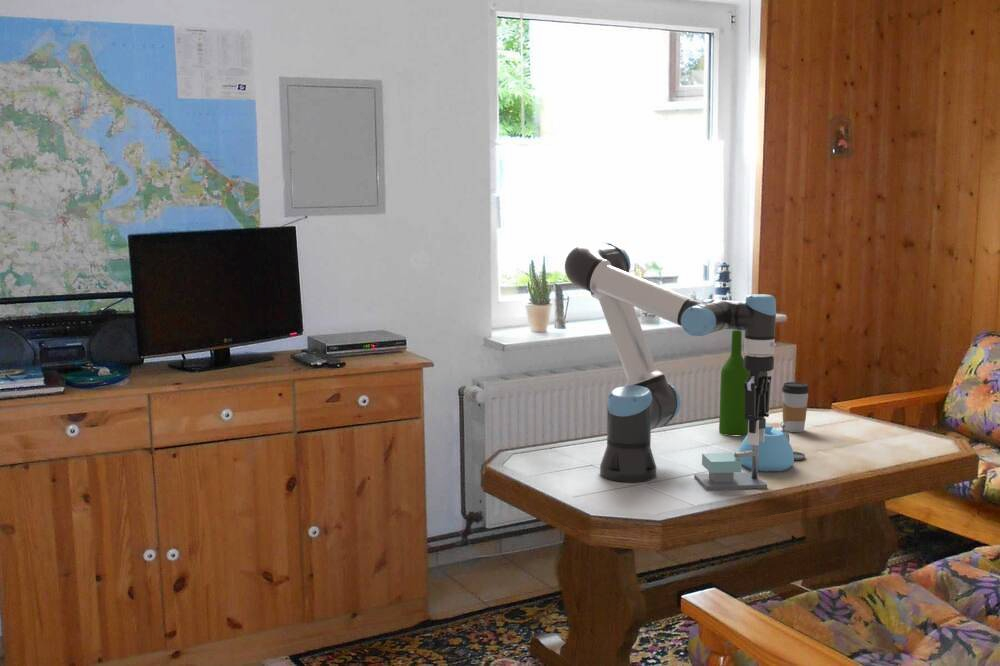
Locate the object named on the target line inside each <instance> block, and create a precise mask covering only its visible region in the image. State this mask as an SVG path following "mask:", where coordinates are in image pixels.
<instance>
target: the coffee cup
mask: <svg viewBox="0 0 1000 666" xmlns="http://www.w3.org/2000/svg"><path fill="white" fill-rule="evenodd" d="M781 388H782V389H781V395H782V396H781V397H782V404H781V405H782V426H783V425H785V428H784V430H786V431H789V432H788V433H792V432H800V433H803V432H804V430H805V424H806V420H807V410H808V401H809V400H808V399H809V393H810V388H809V385H808V384H807V383H803V382H797V381H789V382H784V383H783V385H782V387H781ZM784 422H785V424H784ZM802 431H803V432H802Z"/></svg>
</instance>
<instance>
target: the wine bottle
mask: <svg viewBox="0 0 1000 666" xmlns="http://www.w3.org/2000/svg"><path fill="white" fill-rule="evenodd" d="M742 332H743V330H734V329H733V330H732V331H731V342H730V343H731V348H730V356H729V357H728V359H727V360H726V361H725V362H724V364H723V366H721V370H720V385H719V387H720V391H719V418H718V419H719V424H718V426H719V427H718V432H719V433H720V434H721V433H722V434H721V435H723V434H727V435H726V436H728V435H744V436H747V435H748V425H747V421H748V420H745V387H744V384H745V382H748V378H749V375H750V371H749V370H746V369H745V368H744V356H743V355H742V336H743V334H742ZM746 434H747V435H746Z"/></svg>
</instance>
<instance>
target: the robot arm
mask: <svg viewBox="0 0 1000 666" xmlns="http://www.w3.org/2000/svg"><path fill="white" fill-rule="evenodd" d="M630 269H631V260H630V257H629V255H628V253H627V251H626V250H625V249H623V248H622V247H621V246H619V245H618V244H615V243H609V242H601V243H595V244H583V245H580V246H579V245H578V246H576V247H575V248H573V249H572V250H571V251H570V252H568V255H567V256H566V259H565V262H564V270H565V274H566V275H565V276H566V277H567V279H568V280H569V281H570V282H571V284H573V285H575V286H576V287H578V288H580V289H583V290H585V291H587V292H589V293H590V294H591V297H592V298H594V299H596V300H598V301H599V305H600V307H601V310H602V312H603V316H604V318H605V321H606V324H607V327H608V329H609V332H610V334H611V337H612V340H613V343H614V346H615V349H616V352H617V354H618V357H619V360H620V363H621V366H622V368H623V371H624V374H625V376H626V379H627V380H626V383H625V385H624V386H623V385H621V386H619V387H616V388H614V389H612V390H611V391H609V393H608V396H607V402H606V403H607V404H606V410H607V412H606V413H607V416H606V417H607V419H606V421H607V423H606V424H607V427H606V428H607V429H606V432H607V433H606V448H605V450H604V454H603V456H602V460H601V463H600V468H599V475H600V476H601V477H603V478H605V479H607V480H611V481H615V482H621V483H622V482H624V483H640V482H641V483H642V482H647V481H652V480H653V479H655V478H656V477H657V471H658V470H657V469H658V467H657V464H656V461H655V458H654V455H653V452H652V448H651V444H652V443H651V440H652V439H651V437H652V436H651V435H652V432H651V431H652V430H654V429H656V428H659V427H662V426H666V425H667V424H669V423H670V422H672V421H673V420H674V419H675V418H676V417H677V415H678V414H679V412H680V409H681V396H680V393H679V391H678V390H677V388H676V387H675V386H674V385H672V384H671V383H669V382H668V381H667V379H666V376H665V373H663V372H662V371H661V370H658V369H657V366H656V364H655V362H654V359H653V356H652V353H651V351H650V348H649V345H648V342H647V340H646V337H645V335H644V331H643V329H642V326H641V323H640V321H639V317H638V315H637V312H636V310H635V308H638V309H640V310H642V311H644V312H646V313H650V314H651V315H654V316H657V317H658V318H661V319H663V320H666V321H668V322H670V323H673V324H675V325H678V326H680V327H682V328H681V329H683V330H684V332H685V333H686V334H688V335H690V336H692V337H697V336H698V337H703V336H706V335H709V334H713V333H715V332H718V331H723V330H733V331H734V330H739V331H744V341H743V342H744V343H743V344H744V345H743V353H744V356H743V359H744V368H745V369H746V370H749V371H750V375H749V378H748V382H745V384H744V387H745V420H748V433H747V435H748V443H747V444H750V445H757V446H758V445H759V442H764V435H765V429H759V420H758V417H761V418H764V419H766V418H769V416H770V414H769V410H770V396H771V395H770V394H771V382H772V375H769V374H768V372H771V371H772V370H774V369H775V368H774V367H775V356H774V354H775V347H776V346H777V343H775V341H776V340H775V339H776V320H777V318H776V317H777V306H776V305H777V302H776V301H777V300H776V298H775V296H773V295H772V294H766V293H765V294H764V293H762V294H761V293H760V294H758V293H754V294H753V293H751V294H748V295H746V297H745V300H744V301H737V300H727V299H719V298H716V299H711V298H710V299H705V300H704V301H703V302H701V301H699V300H695V299H693V298H692V297H691V298H690V297H688V296H686V295H684V294H682V293H679V292H677V291H674V290H671V289H669V288H667V287H665V286H662V285H659V284H657V283H654V282H652V281H650V280H647V279H644V278H641V277H640V276H637V275H634V274H633V273H630Z"/></svg>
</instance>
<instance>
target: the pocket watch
mask: <svg viewBox="0 0 1000 666" xmlns="http://www.w3.org/2000/svg"><path fill="white" fill-rule="evenodd" d="M784 424H785V422H784ZM780 427H781V428H782V429H781V430H780V431H781V432H783V433H784V435H785V436H786V438H787V440H788V441H789V442H790V434H789V433H790V432H788V431H786V430H784V428H785V425H783V421H781V422H780ZM793 455H794V461H800V460H803V459H805V458H806V454H805V453H803V452H799V451H793Z"/></svg>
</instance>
